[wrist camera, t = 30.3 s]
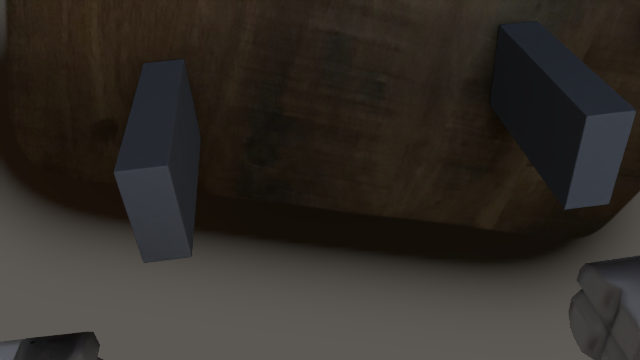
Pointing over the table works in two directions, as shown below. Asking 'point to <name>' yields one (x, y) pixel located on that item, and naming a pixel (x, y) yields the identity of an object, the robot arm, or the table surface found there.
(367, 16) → the table surface
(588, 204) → the grey boxes
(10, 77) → the table surface
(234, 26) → the table surface
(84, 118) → the table surface
